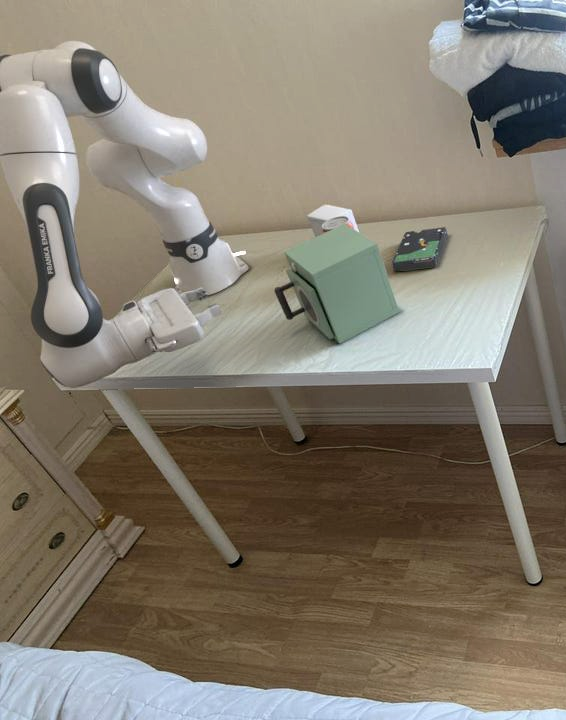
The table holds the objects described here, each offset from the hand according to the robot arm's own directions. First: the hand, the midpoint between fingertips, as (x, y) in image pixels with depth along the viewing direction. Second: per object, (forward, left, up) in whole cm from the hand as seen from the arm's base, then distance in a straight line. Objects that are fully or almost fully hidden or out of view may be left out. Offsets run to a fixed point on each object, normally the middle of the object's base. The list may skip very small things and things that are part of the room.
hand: (212, 299), depth 133 cm
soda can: (-18, +29, -15) cm, 37 cm away
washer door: (+2, +14, -13) cm, 20 cm away
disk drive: (-14, +45, -15) cm, 50 cm away
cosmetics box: (-32, +30, -15) cm, 46 cm away
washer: (+1, +24, -14) cm, 28 cm away
